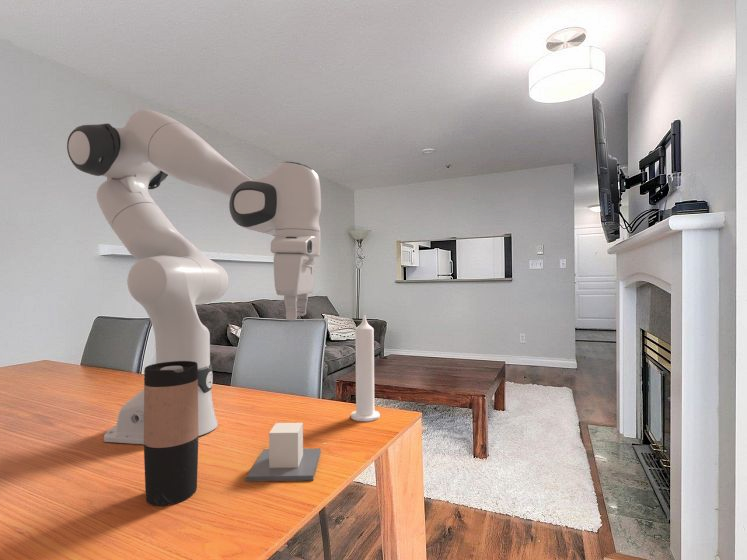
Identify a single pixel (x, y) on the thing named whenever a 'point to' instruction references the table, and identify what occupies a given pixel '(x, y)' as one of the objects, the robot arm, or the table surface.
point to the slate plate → (300, 473)
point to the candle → (364, 373)
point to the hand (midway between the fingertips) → (296, 317)
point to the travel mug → (170, 431)
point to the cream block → (286, 445)
